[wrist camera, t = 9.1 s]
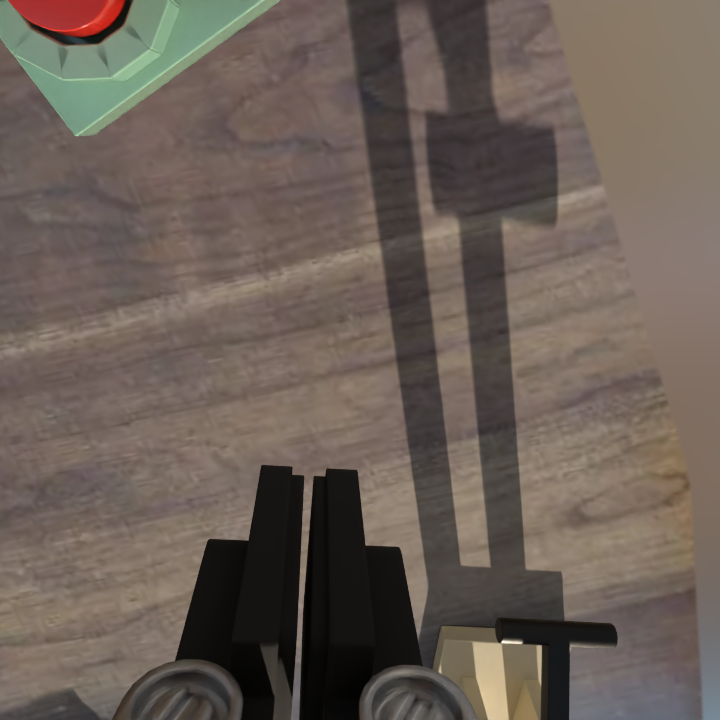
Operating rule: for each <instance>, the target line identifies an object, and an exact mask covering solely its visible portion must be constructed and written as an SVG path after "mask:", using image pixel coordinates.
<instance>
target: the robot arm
mask: <svg viewBox="0 0 720 720" xmlns="http://www.w3.org/2000/svg"><path fill="white" fill-rule="evenodd" d="M303 490H304V476H303V475H292V467H289V466H270V465H262V466H261V471H260V477H259V482H258V488H257V494H256V500H255V506H254V512H253V518H252V523H251V529H250V535H249V541H244V540H220V539H209V540H208V542H207V545H206V548H205V551H204V555H203V559H202V563H201V566H200V570H199V574H198V577H197V581H196V585H195V589H194V592H193V596H192V600H191V603H190V607H189V611H188V615H187V618H186V622H185V626H184V630H183V633H182V637H181V641H180V644H179V648H178V652H177V656H176V659H175V661H174V662H169V663H165V664H163V665H161V666H159V667H157V668H155V669H153V670H151V671H148V672H147V673H146V674H145V675H144V676H142V677H141V678H140V679H139V680H137V681H136V682H135V683H134V684H133V685H132V687H131V688H130V689H129V691H128V692H127V693H126V695H125V696H124V698H123V699H122V701H121V703H120V705H119V707H118V709H117V711H116V713H115V714H114V716H113V718H112V720H291V709H292V696H293V682H294V669H295V656H296V640H297V621H298V599H299V577H300V556H301V534H302V512H303ZM299 720H478V719H477V717H476V714H475V712H474V709H473V707H472V705H471V703H470V702H469V700H468V698H467V697H466V695H465V693H464V692H463V690H462V689H461V688H459V687H458V686H457V685H456V684H455V683H454V682H453V681H452V680H451V679H450V678H448V677H446V676H445V675H443V674H441V673H439V672H437V671H436V670H433V669H430V668H426V667H423V666H422V660H421V655H420V650H419V644H418V639H417V634H416V628H415V623H414V618H413V612H412V607H411V601H410V596H409V591H408V585H407V580H406V575H405V569H404V564H403V559H402V554H401V550H400V548H399V547H387V546H365V537H364V528H363V518H362V509H361V499H360V490H359V480H358V472H357V470H346V469H326V476H325V477H323V476H314V480H313V493H312V505H311V518H310V530H309V543H308V556H307V568H306V581H305V593H304V608H303V630H302V658H301V686H300V715H299Z"/></svg>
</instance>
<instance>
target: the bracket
mask: <svg viewBox="0 0 720 720" xmlns="http://www.w3.org/2000/svg"><path fill="white" fill-rule="evenodd" d="M570 650H571V647H570ZM541 663H542V645H522V644H500V643H498V641H497V639H496V634H495V628H480V627H460V626H441V630H440V634H439V639H438V644H437V649H436V654H435V659H434V663H433V668H432V669H433V670H436V671H437V672H439V673H441V674H443V675H445V676H446V677H448V678H450V679H451V680H452V681H453V682H454V683H455V684H456V685H457V686H458V687H459V688H461V689H462V690H463V692H464V693H465V695H466V697H467V698H468V700H469V702H470V703H471V705H472V707H473V709H474V712H475V714H476V717H477V719H478V720H540V717H541Z"/></svg>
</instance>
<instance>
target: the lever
mask: <svg viewBox="0 0 720 720" xmlns="http://www.w3.org/2000/svg"><path fill="white" fill-rule="evenodd" d="M495 634H496V639H497V641H498V643H500V644H522V645H542V663H541V717H540V720H569V673H570V647H585V648H606V649H613V648H615V647H616V645H617V632H616V629H615V627H614V625H612V624H611V623H595V622H575V621H556V620H536V619H517V618H497V620H496V624H495Z"/></svg>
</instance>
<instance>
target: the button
mask: <svg viewBox="0 0 720 720" xmlns="http://www.w3.org/2000/svg"><path fill="white" fill-rule="evenodd" d="M8 1H9V2H10V4H11V5H12V6H13V7H14V8H15V9H16V10H17V11H18V12H19V13H20V14H21V15H22V16H24V17H25V18H26V19H27V20H29V21H31V22H32V23H34V24H36V25H38V26H40V27H42V28H45V29H48V30H51V31H54V32H57V33H60V34H64V35H67V36H72V37H90V36H94V35H97V34H99V33H102V32H104V31H105V30H107V29H108V28H110V27H111V26H112V25H113V24H114V23H115V22H116V21H117V19H118V18H119V17H120V15H121V13H122V12H123V9H124V7H125V4H126V1H127V0H8Z"/></svg>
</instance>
